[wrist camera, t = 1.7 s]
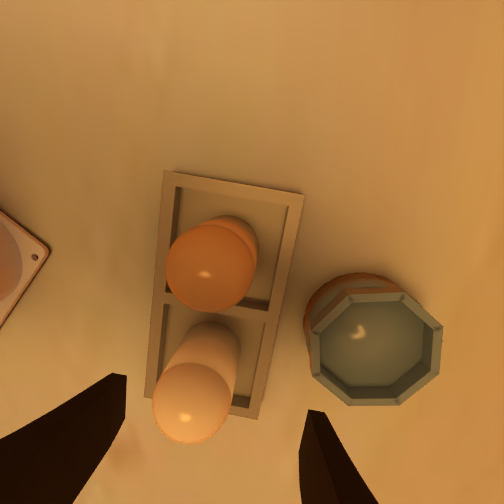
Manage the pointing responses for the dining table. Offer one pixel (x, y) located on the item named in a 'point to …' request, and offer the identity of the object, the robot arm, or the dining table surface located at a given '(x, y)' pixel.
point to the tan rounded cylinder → (197, 384)
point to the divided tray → (258, 296)
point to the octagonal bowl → (370, 341)
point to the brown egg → (213, 264)
